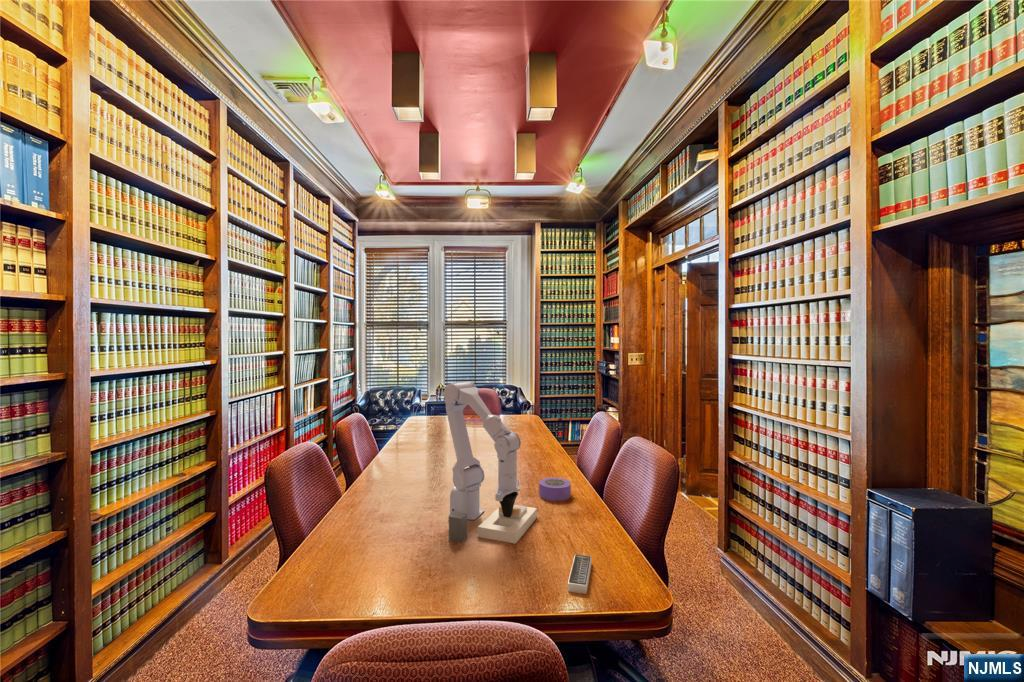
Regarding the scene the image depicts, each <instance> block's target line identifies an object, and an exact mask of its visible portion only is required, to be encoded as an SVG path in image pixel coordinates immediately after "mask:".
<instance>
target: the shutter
mask: <svg viewBox="0 0 1024 682" xmlns="http://www.w3.org/2000/svg"><path fill="white" fill-rule="evenodd" d="M522 506H523V505H518V506H516V504H514V506H513V511H512V515H511V517H514V518H520V517H521V516H522V515H523V514H524V513H525V512H526V511H527V507H528V506H525V507H522ZM498 508H499V515H501V516H503V512H502V507H501V505H499V506H498Z"/></svg>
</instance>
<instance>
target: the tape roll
mask: <svg viewBox="0 0 1024 682" xmlns="http://www.w3.org/2000/svg"><path fill="white" fill-rule="evenodd" d="M538 484H539V486H538V489H539V490H538V491H539V493H538V495H539V497H540V498H541V499H543V500H546V501H551V502H561V501H566V500H569V499H571V494H572V493H571V488H572V485H571V482H570V481H569V480H568V479H566V478H562V477H544V478H542V479H540V480H539V483H538Z"/></svg>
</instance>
